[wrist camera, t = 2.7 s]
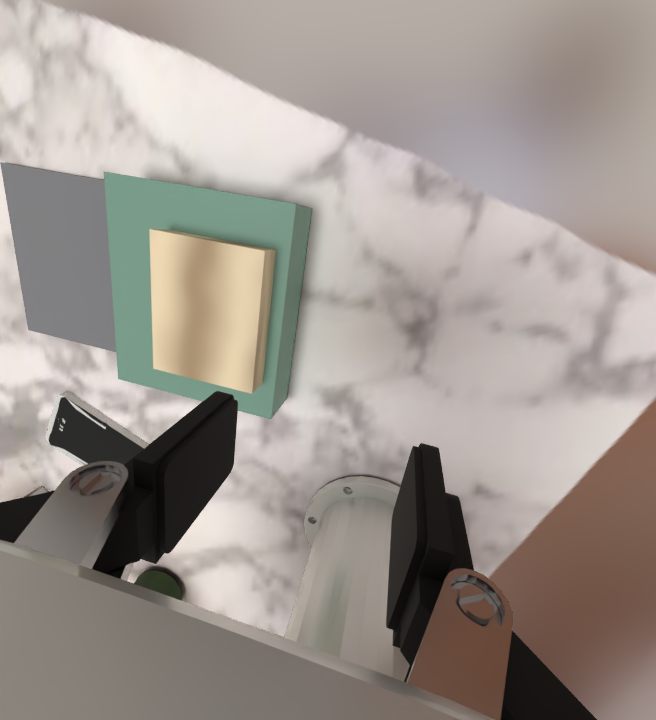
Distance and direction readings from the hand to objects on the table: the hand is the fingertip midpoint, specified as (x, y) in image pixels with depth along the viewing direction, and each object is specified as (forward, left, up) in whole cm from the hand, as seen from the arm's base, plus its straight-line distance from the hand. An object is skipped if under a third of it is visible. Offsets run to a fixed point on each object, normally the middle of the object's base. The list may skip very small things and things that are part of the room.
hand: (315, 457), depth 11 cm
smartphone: (+25, +20, -18) cm, 37 cm away
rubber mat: (+27, 0, -18) cm, 32 cm away
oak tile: (+11, 0, -14) cm, 17 cm away
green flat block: (+13, 0, -18) cm, 22 cm away
